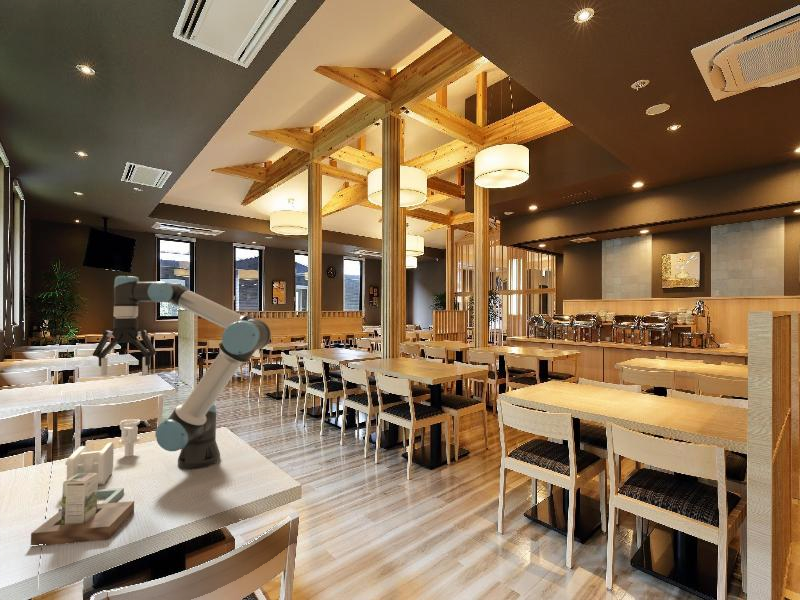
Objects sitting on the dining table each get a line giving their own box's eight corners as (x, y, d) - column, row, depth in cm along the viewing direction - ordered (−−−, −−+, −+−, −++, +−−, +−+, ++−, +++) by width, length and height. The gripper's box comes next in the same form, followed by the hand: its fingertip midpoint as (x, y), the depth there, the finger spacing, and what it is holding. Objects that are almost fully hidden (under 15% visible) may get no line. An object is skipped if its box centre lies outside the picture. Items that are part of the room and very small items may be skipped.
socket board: (134, 512, 119) (134, 501, 119) (109, 539, 105) (109, 526, 105) (65, 518, 115) (65, 506, 115) (30, 546, 101) (31, 533, 102)
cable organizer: (102, 488, 135) (103, 454, 135) (63, 494, 130) (64, 458, 131) (113, 471, 148) (114, 440, 149) (78, 476, 144) (79, 444, 144)
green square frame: (123, 493, 131) (124, 487, 131) (104, 512, 119) (104, 505, 119) (82, 496, 128) (83, 490, 128) (58, 516, 117) (58, 509, 117)
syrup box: (74, 524, 112) (76, 472, 113) (97, 523, 113) (98, 471, 113) (60, 535, 107) (61, 481, 107) (84, 534, 107) (85, 480, 108)
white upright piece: (114, 456, 163) (115, 420, 164) (132, 451, 170) (132, 416, 170) (126, 459, 161) (126, 422, 161) (143, 453, 167) (143, 417, 167)
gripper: (166, 317, 153) (165, 372, 153) (93, 317, 148) (92, 374, 148) (158, 317, 146) (157, 375, 145) (81, 317, 141) (80, 377, 140)
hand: (124, 375), depth 147 cm, fingers open, 13 cm apart
